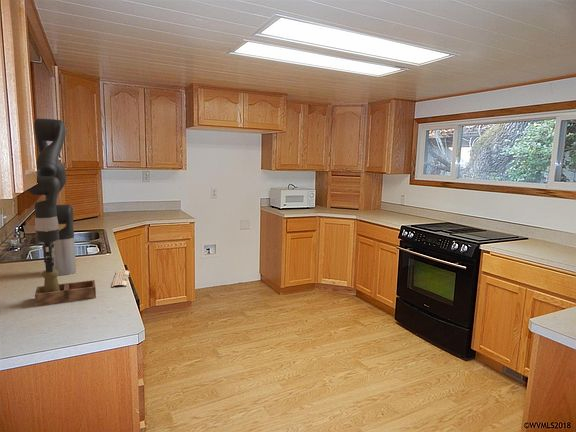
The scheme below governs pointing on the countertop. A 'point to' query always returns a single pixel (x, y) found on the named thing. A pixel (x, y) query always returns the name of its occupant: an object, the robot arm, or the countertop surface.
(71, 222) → the robot arm
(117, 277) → the newspaper
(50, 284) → the cork
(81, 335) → the countertop surface
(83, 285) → the walnut caddy
